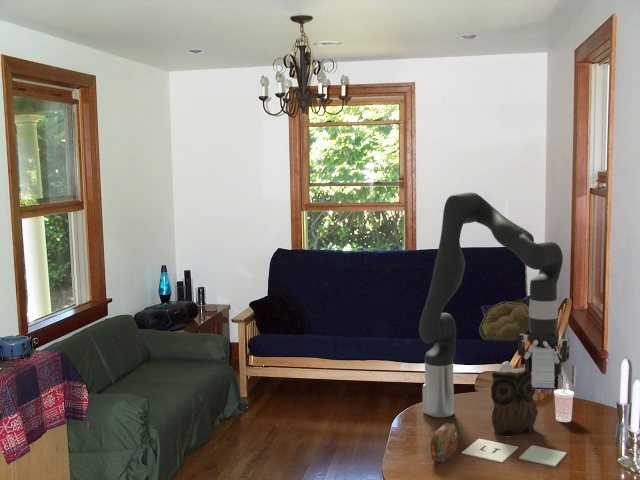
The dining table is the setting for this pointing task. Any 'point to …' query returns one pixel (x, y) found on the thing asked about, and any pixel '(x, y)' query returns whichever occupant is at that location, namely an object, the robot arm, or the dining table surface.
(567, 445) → the dining table surface
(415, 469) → the dining table surface
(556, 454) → the sage mat
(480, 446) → the tile
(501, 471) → the dining table surface
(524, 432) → the owl
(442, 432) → the tin
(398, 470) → the dining table surface
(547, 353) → the supplement box
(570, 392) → the beverage cup
